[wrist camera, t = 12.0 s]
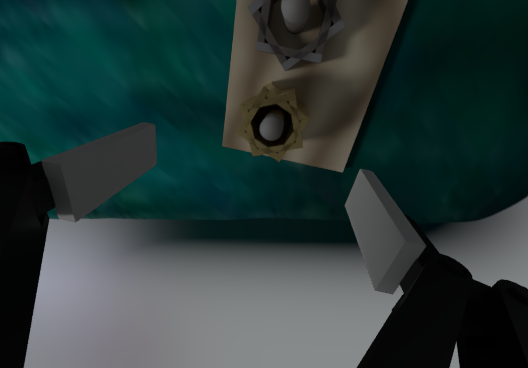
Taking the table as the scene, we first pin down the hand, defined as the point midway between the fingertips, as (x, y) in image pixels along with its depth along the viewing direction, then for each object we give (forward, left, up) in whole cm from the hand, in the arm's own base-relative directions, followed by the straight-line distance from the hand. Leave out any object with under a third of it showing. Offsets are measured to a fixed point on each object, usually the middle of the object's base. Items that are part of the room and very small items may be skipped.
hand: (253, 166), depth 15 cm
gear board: (+2, +4, -20) cm, 20 cm away
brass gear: (0, 0, -18) cm, 18 cm away
